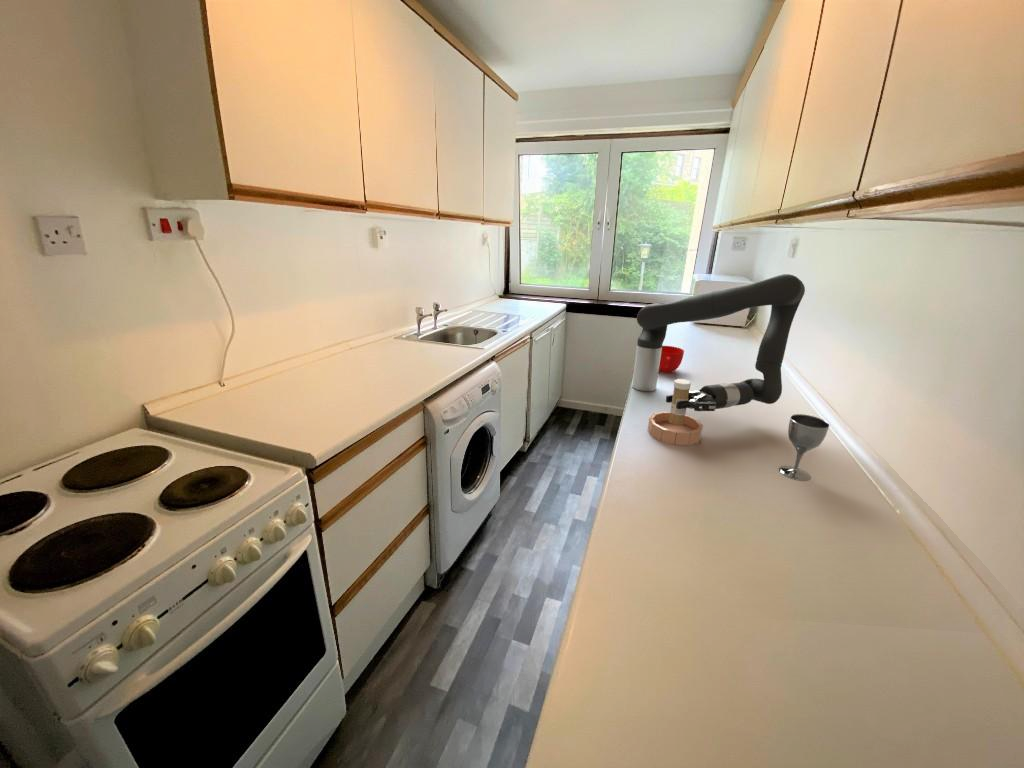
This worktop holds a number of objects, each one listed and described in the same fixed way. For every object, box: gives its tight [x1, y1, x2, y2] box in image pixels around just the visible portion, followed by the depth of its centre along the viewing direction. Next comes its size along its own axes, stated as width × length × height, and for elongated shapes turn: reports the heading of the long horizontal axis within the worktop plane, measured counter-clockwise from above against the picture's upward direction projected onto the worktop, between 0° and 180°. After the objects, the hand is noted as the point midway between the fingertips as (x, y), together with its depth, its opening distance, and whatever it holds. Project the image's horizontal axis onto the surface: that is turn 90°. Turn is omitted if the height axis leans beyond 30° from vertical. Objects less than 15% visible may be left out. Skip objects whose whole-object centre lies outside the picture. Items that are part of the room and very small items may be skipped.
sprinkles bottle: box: [669, 378, 692, 425], centre depth 124 cm, size 5×5×13 cm
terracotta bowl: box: [647, 411, 704, 446], centre depth 127 cm, size 15×15×4 cm
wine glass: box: [778, 413, 830, 482], centre depth 105 cm, size 8×8×15 cm
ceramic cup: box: [658, 345, 685, 374], centre depth 182 cm, size 13×17×10 cm
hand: (672, 402), depth 124 cm, fingers closed on sprinkles bottle, 4 cm apart
